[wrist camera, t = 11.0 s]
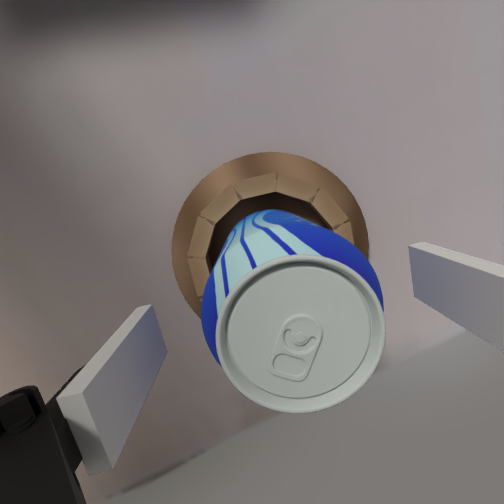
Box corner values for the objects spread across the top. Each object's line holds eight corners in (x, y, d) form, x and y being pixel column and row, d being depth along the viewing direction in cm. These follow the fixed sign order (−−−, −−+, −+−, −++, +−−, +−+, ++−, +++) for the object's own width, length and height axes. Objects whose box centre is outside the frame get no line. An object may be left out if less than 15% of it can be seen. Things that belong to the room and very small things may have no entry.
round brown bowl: (202, 356, 30) (197, 375, 27) (151, 179, 27) (138, 177, 24) (376, 318, 30) (391, 333, 27) (347, 133, 26) (360, 124, 23)
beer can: (206, 241, 27) (146, 308, 11) (285, 190, 26) (343, 183, 10) (256, 314, 28) (266, 467, 12) (332, 268, 27) (447, 368, 12)
